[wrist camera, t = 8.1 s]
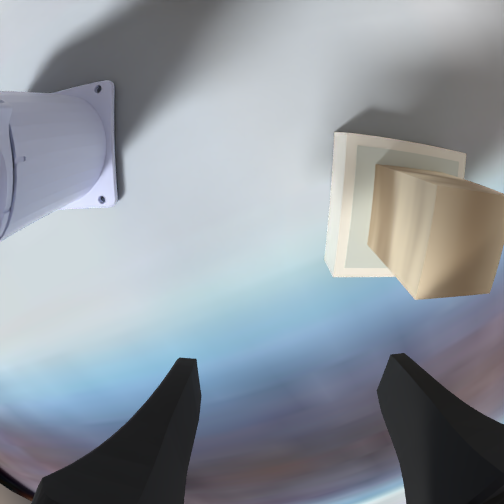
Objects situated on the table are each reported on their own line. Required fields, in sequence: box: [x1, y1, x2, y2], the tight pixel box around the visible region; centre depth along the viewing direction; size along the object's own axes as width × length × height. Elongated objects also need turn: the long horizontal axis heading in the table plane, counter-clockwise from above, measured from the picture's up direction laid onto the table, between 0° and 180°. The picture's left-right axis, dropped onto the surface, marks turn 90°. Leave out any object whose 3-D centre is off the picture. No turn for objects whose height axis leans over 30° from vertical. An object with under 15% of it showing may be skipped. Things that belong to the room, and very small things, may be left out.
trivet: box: [324, 132, 466, 277], centre depth 17 cm, size 8×8×3 cm
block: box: [367, 164, 504, 300], centre depth 13 cm, size 4×4×6 cm
